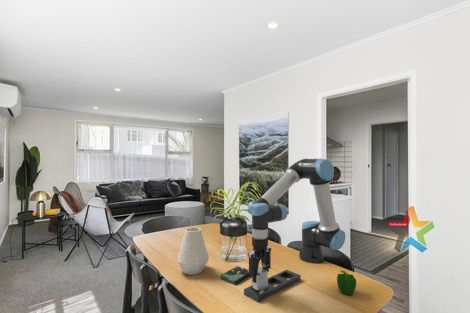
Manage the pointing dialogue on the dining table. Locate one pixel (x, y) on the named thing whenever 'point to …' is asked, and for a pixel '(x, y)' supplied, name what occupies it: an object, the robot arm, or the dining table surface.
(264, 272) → the block
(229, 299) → the dining table surface
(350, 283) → the bell pepper
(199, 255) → the vase
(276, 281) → the rail
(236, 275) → the disk drive
